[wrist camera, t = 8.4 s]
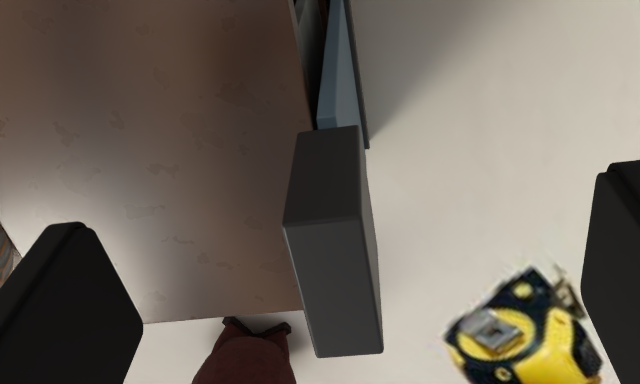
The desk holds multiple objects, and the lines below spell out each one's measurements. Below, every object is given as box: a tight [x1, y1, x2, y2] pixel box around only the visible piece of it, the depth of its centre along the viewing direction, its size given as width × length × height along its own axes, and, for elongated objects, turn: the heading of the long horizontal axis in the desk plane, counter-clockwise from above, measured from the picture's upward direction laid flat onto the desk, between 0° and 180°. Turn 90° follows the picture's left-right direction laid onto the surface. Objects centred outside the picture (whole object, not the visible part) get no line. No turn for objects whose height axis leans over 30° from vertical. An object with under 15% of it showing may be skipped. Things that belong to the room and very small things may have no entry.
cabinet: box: [0, 0, 370, 324], centre depth 20 cm, size 12×18×12 cm
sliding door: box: [281, 0, 384, 358], centre depth 19 cm, size 2×9×16 cm, turn 10°
